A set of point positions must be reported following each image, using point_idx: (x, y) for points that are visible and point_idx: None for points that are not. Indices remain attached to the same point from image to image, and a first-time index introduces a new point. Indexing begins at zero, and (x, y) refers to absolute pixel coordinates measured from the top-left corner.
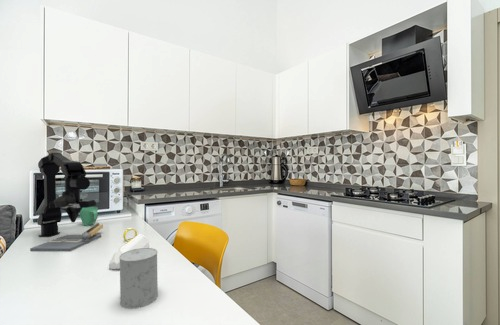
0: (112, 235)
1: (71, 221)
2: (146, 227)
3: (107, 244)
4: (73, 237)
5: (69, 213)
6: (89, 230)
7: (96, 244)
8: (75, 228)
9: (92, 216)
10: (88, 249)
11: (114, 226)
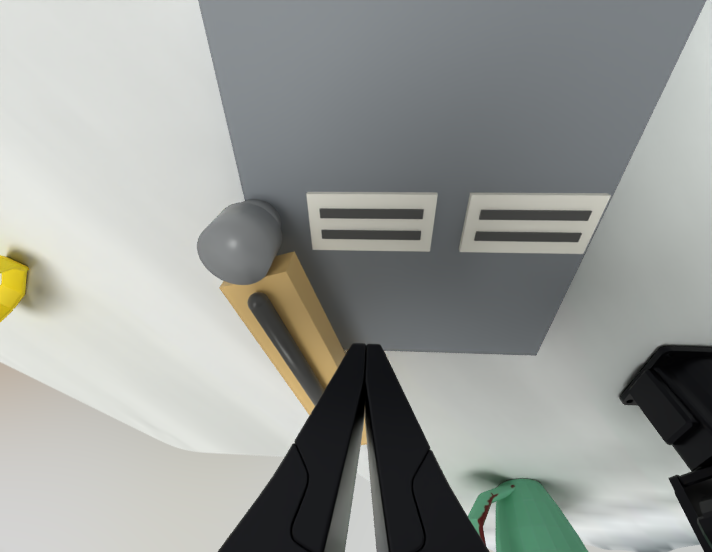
0: (236, 356)
1: (378, 350)
2: (177, 444)
3: (72, 192)
4: (439, 300)
5: (399, 509)
6: (254, 314)
7: (160, 191)
8: (562, 454)
9: (506, 540)
10: (84, 49)
11: (359, 463)
